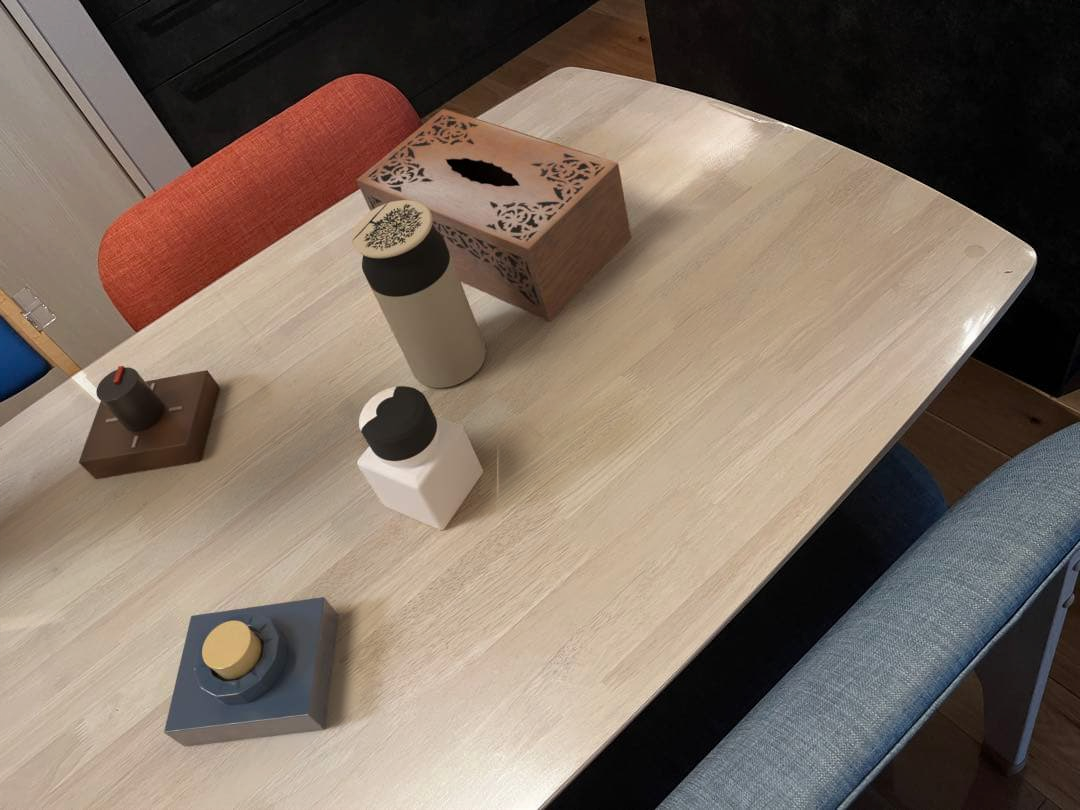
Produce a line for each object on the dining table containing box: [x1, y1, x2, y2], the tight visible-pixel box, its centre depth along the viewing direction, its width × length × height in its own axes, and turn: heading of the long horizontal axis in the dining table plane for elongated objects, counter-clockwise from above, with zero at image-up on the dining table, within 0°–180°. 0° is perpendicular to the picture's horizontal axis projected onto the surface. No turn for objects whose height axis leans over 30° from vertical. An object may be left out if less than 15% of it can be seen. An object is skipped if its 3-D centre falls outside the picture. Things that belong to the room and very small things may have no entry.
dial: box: [95, 365, 164, 431], centre depth 93 cm, size 4×4×5 cm
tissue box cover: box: [356, 107, 632, 322], centre depth 101 cm, size 26×14×10 cm, turn 50°
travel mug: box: [351, 200, 487, 389], centre depth 88 cm, size 8×8×18 cm
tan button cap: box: [202, 621, 262, 679], centre depth 71 cm, size 4×4×2 cm
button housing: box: [163, 596, 339, 747], centre depth 74 cm, size 12×10×5 cm
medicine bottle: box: [357, 385, 484, 531], centre depth 80 cm, size 7×7×12 cm
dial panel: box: [78, 369, 221, 480], centre depth 96 cm, size 12×10×3 cm
